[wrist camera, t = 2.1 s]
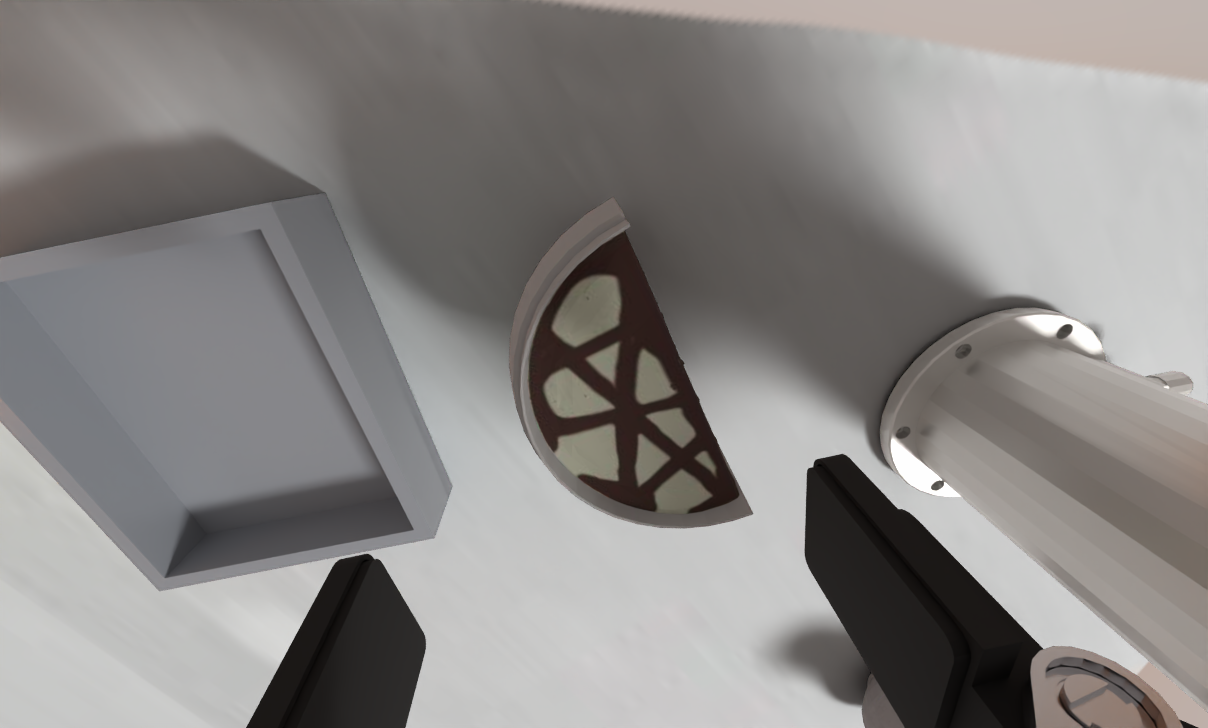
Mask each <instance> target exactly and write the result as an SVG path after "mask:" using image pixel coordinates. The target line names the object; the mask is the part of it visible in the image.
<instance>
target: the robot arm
mask: <svg viewBox="0 0 1208 728" xmlns="http://www.w3.org/2000/svg"><path fill="white" fill-rule="evenodd" d="M1192 390H1193V382H1192V381H1191V379H1190V377H1189V376H1187V375H1185V374H1183V373H1182V372H1176V371H1171V372H1166V373H1160V374H1155V375H1150V376H1147V377H1144V376H1142V375H1139V374H1136V373H1134V372H1131V371H1129V370H1126V369H1123V368H1121V367H1118V366H1116V365H1113V364H1111V363H1108V362H1106V360H1105V353H1104V350H1103V347H1102V344H1101V341H1100V340H1099V338H1098V337H1097V336H1096V335H1095V333H1094V332H1093V331H1092V329H1091V328H1089V327H1088V326H1087V325H1085V324H1084V323H1082V322H1081V321H1079V320H1078V319H1075V318H1072V317H1070V316H1067V315H1064V314H1061V313H1058V312H1055V311H1051V310H1046V309H1041V308H1013V309H1008V310H1003V311H998V312H993V313H991V314H988V315H985V316H982V317H980V318H977V319H974V320H972V321H970V322H968V323H966V324H964V325H962V326H960V327H958V328H957V329H955V330H953V331H951V332H949V333H948V334H947V335H945V336H944V337H942V338H941V339H940V340H938V341H937V342H935V343H934V344H933V345H931V346H930V347H929V348H928V349H927V350H926V351H925V352H924V353H922V354H921V355H920V356H919V357H918V358H917V359H916V360H915V361H914V362H913V363H912V364H911V366H910V367H909V368H908V369H907V371H906V372H905V373H904V374H903V375H902V377H901V378H900V379H899V381H898V383H897V384H896V386H895V388H894V389H893V391H892V393H891V395H890V396H889V399H888V401H887V404H886V406H885V409H884V412H883V414H882V420H881V426H880V442H881V448H882V451H883V454H884V457H885V459H886V461H887V462H888V464H889V465H890V466H891V468H892V469H893V470H894V471H895V472H896V473H897V474H898V475H899V476H900V477H901V478H902V479H903V480H904V481H905V482H906V483H907V484H909V485H911V486H912V487H914V488H916V489H917V490H919V491H922V492H925V493H928V494H931V495H938V496H947V497H953V496H961V497H962V498H963V499H964V500H966V501H967V502H968V503H969V504H970V505H971V506H972V507H973V508H975V509H976V510H977V511H978V512H979V513H980V514H981V515H983V516H984V517H985V518H986V519H987V520H988V521H989V522H991V523H992V524H993V525H994V526H995V527H996V528H997V529H999V530H1000V531H1001V532H1002V533H1003V534H1004V535H1005V536H1007V537H1008V538H1009V539H1010V540H1011V541H1012V542H1013V543H1015V544H1016V545H1017V546H1018V547H1019V548H1020V549H1021V550H1023V551H1024V552H1025V553H1026V554H1027V555H1028V556H1029V557H1031V558H1032V559H1033V560H1034V561H1035V562H1036V563H1037V564H1039V565H1040V566H1041V567H1042V568H1043V569H1044V570H1045V571H1047V572H1048V573H1049V574H1050V575H1051V576H1052V577H1053V578H1055V579H1056V580H1057V581H1058V582H1059V583H1060V584H1061V585H1063V586H1064V587H1065V588H1066V589H1067V590H1068V591H1069V592H1071V593H1072V594H1073V595H1074V596H1075V597H1076V598H1077V599H1079V600H1080V601H1081V602H1082V603H1083V604H1084V605H1085V606H1086V607H1088V608H1089V609H1090V610H1091V611H1092V612H1093V613H1094V614H1096V615H1097V616H1098V617H1099V618H1100V619H1101V620H1102V621H1104V622H1105V623H1106V624H1107V625H1108V626H1109V627H1110V628H1112V629H1113V630H1114V631H1115V632H1116V633H1117V634H1118V635H1120V636H1121V637H1122V638H1123V639H1124V640H1125V641H1126V642H1128V643H1129V644H1130V645H1131V646H1132V647H1133V648H1134V649H1136V650H1137V651H1138V652H1139V653H1140V654H1141V655H1142V656H1144V657H1145V658H1146V659H1147V660H1148V661H1149V662H1150V663H1152V664H1153V665H1154V666H1155V667H1156V668H1157V669H1158V670H1160V671H1161V672H1162V673H1163V674H1164V675H1165V676H1166V677H1168V678H1169V679H1170V680H1171V681H1172V682H1173V683H1175V684H1176V685H1177V686H1178V687H1179V688H1180V689H1181V690H1182V691H1184V692H1185V693H1186V694H1187V695H1188V696H1189V697H1190V698H1192V699H1193V700H1194V701H1195V702H1196V703H1197V704H1198V705H1199V706H1201V707H1202V708H1203V709H1204V710H1205V711H1206V712H1208V404H1205V403H1203V402H1200V401H1198V400H1195V399H1193V398H1190V397H1188V396H1185V395H1188V394H1189V393H1190V392H1191V391H1192ZM805 558H806V562H807V565H808V567H809V569H810V571H811V573H812V574H813V576H814V578H815V579H816V581H817V583H818V584H819V586H820V588H821V589H822V591H823V593H824V594H825V596H826V598H827V599H828V601H829V603H830V604H831V606H832V608H833V609H834V611H835V613H836V614H837V616H838V618H839V619H840V621H841V623H842V624H843V626H844V628H845V629H846V631H847V633H848V634H849V636H850V638H851V639H852V641H853V643H854V644H855V646H856V648H857V649H858V651H859V653H860V654H861V656H862V657H863V659H864V661H865V662H866V664H867V666H868V667H869V669H870V671H871V672H872V674H873V676H874V677H875V679H876V681H877V682H878V684H879V686H880V687H881V689H882V691H883V692H884V694H885V696H886V697H887V699H888V701H889V702H890V704H891V706H892V707H893V709H894V711H895V712H896V714H897V716H898V717H899V719H900V721H901V722H902V724H903V726H904V727H905V728H1198V727H1195V726H1193V725H1191V724H1188V723H1186V722H1184V721H1181V720H1179V719H1178V717H1177V715H1176V713H1175V712H1174V711H1173V709H1172V708H1171V707H1170V706H1169V705H1168V704H1167V702H1166V701H1165V700H1164V699H1163V698H1162V697H1161V696H1160V695H1159V693H1158V692H1156V691H1155V690H1154V689H1153V688H1152V687H1150V686H1149V685H1148V684H1147V683H1146V682H1144V681H1143V680H1142V679H1141V678H1140V677H1138V676H1137V675H1135V674H1134V673H1132V672H1131V671H1129V670H1127V669H1126V668H1124V667H1122V666H1121V665H1119V664H1118V663H1116V662H1114V661H1112V660H1109V659H1107V658H1105V657H1103V656H1100V655H1098V654H1096V653H1093V652H1090V651H1086V650H1082V649H1078V648H1074V647H1065V646H1052V647H1049V648H1046V649H1043V648H1042V647H1041V646H1040V645H1039V644H1038V643H1037V642H1036V641H1035V640H1034V639H1033V638H1032V637H1031V636H1030V635H1029V634H1028V633H1027V632H1026V631H1025V630H1024V629H1023V628H1022V627H1021V626H1020V625H1019V624H1018V623H1017V622H1016V621H1015V620H1014V618H1013V617H1012V616H1011V615H1010V614H1009V613H1008V612H1007V611H1006V610H1005V609H1004V608H1003V607H1002V606H1001V605H1000V604H999V603H998V602H997V601H996V600H995V599H994V598H993V597H992V596H991V595H990V594H989V593H988V592H987V591H986V590H985V589H984V588H983V587H982V586H981V585H980V584H979V583H978V582H977V581H976V579H975V578H974V577H973V576H972V575H971V574H970V573H969V572H968V571H967V570H966V569H965V568H964V567H963V566H962V565H961V564H960V563H959V562H958V561H957V560H956V559H955V558H954V557H953V556H952V555H951V554H950V553H949V552H948V551H947V550H946V549H945V548H944V547H943V546H942V545H941V544H940V543H939V542H938V540H937V539H936V538H935V537H934V536H933V535H932V534H931V533H930V532H929V531H928V530H927V529H926V528H925V527H924V526H923V525H922V524H921V523H920V522H919V521H918V520H917V519H916V518H915V517H914V516H913V515H911V514H910V513H909V512H907V511H905V510H903V509H897V508H896V507H895V506H894V505H893V504H892V502H891V501H890V500H889V499H888V498H887V497H886V496H885V495H884V494H883V493H882V492H881V491H880V490H879V489H878V488H877V487H876V486H875V485H874V483H873V482H872V481H871V480H870V479H869V478H868V477H867V476H866V475H865V474H864V473H863V472H862V471H861V470H860V469H859V468H858V467H857V466H856V465H855V463H854V462H853V461H852V460H851V459H850V458H849V457H847V456H846V455H844V454H840V455H835V456H831V457H826V458H821V459H817V460H815V462H814V466H813V467H812V468H809V469H808V470H807V492H806V525H805ZM425 649H426V639H425V635H424V633H423V631H422V629H421V628H420V626H419V624H418V623H417V621H416V619H415V618H414V616H413V614H412V612H411V611H410V609H409V607H408V606H407V604H406V602H405V601H404V599H403V597H402V596H401V594H400V592H399V591H398V589H397V587H396V585H395V584H394V582H393V580H392V579H391V577H390V575H389V574H388V572H387V570H386V569H385V567H384V565H383V564H382V562H381V561H380V560H379V559H374V558H373V557H372V556H371V555H369V554H364V555H359V556H354V557H350V558H345V559H340V560H338V561H337V562H336V563H335V564H334V566H333V567H332V569H331V571H330V573H329V575H328V577H327V578H326V580H325V582H324V584H323V586H322V588H321V590H320V591H319V593H318V595H317V597H316V599H315V601H314V603H313V604H312V606H311V608H310V610H309V612H308V614H307V616H306V617H305V619H304V621H303V623H302V625H301V627H300V629H299V631H298V632H297V634H296V636H295V638H294V640H293V642H292V644H291V645H290V647H289V649H288V651H287V653H286V655H285V657H284V658H283V660H282V662H281V664H280V666H279V668H278V670H277V671H276V673H275V675H274V677H273V679H272V681H271V683H270V684H269V686H268V688H267V690H266V692H265V694H264V696H263V698H262V699H261V701H260V703H259V705H258V707H257V709H256V711H255V712H254V714H253V716H252V718H251V720H250V722H249V724H248V725H247V727H246V728H405V727H406V723H407V719H408V715H409V711H410V708H411V704H412V700H413V696H414V692H415V689H416V685H417V681H418V677H419V673H420V670H421V666H422V662H423V658H424V654H425Z"/></svg>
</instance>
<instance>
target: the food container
mask: <svg viewBox="0 0 1208 728" xmlns="http://www.w3.org/2000/svg"><path fill="white" fill-rule="evenodd" d="M629 227H630V224H629V223H628V221H627V220H626V218H625V216H624V214H623V211H622V210H621V208H620V206H619V205H618V203H617V202H616V200H615V198H614V197H612V198H611V199H609V200H607V201H606V202H604V203H603V204H601V205H599V206H598V207H596V208H595V209H593V210H591V211H590V212H588V213H587V214H585V215H584V216H583V217H582V218H581V219H580V220H578V221H577V222H576V223H575V224H574V225H573V226H572V227H570V228H569V229H568V230H567V231H566V232H565V233H563V234H562V235H561V236H560V238H559V239H558V240H557V241H556V242H555V243H554V245H553V246H552V247H551V248H550V249H549V251H548V252H547V253H546V254H545V255H544V257H543V258H542V259H541V260H540V262H539V264H538V266H537V267H536V269H535V271H534V272H533V274H532V276H531V277H530V279H529V281H528V282H527V284H526V286H525V288H524V291H523V294H522V296H521V299H520V301H519V304H518V306H517V309H516V312H515V316H514V321H513V326H512V331H511V336H510V347H509V369H510V376H511V382H512V389H513V394H514V399H515V403H516V408H517V412H518V414H519V417H520V420H521V423H522V426H523V429H524V432H525V434H526V436H527V438H528V440H529V441H530V443H531V445H532V447H533V449H534V450H535V452H536V454H537V455H538V456H539V458H540V459H541V460H542V462H543V463H544V465H545V466H546V467H547V468H548V469H549V471H550V472H551V473H552V474H553V476H554V477H555V478H556V479H557V481H558V482H560V483H561V484H562V485H563V486H564V487H565V488H566V489H568V490H569V491H570V492H571V493H572V494H573V495H574V496H576V497H577V498H579V499H580V500H582V501H583V502H585V503H587V504H588V505H590V506H591V507H593V508H595V509H597V510H599V511H601V512H604V513H606V514H608V515H610V516H612V517H615V518H618V519H621V520H625V521H628V522H632V523H635V524H640V525H646V526H653V527H659V528H693V527H704V526H711V525H716V524H721V523H725V522H730V521H734V520H737V519H740V518H743V517H746V516H749V515H752V514H753V512H752V510H751V508H750V506H749V504H748V502H747V500H746V498H745V496H744V494H743V492H742V490H741V488H740V486H739V484H738V482H737V480H736V478H735V476H734V474H733V472H732V470H731V468H730V467H729V465H728V463H727V461H726V459H725V457H724V455H723V453H722V451H721V449H720V447H719V444H718V443H717V439H716V437H715V436H714V434H713V432H712V430H711V428H710V425H709V423H708V421H707V419H706V417H705V414H704V412H703V410H702V407H701V405H700V403H699V398H698V396H697V395H696V393H695V391H694V389H693V386H692V384H691V382H690V380H689V377H688V375H687V373H686V371H685V368H684V366H683V365H684V362H683V361H682V360H681V359H680V357H679V355H678V352H677V350H676V347H675V344H674V343H673V340H672V338H671V336H670V333H669V331H668V328H667V326H666V324H665V321H664V317H663V314H662V313H661V312H660V309H659V307H658V305H657V302H656V300H655V298H654V296H653V293H652V291H651V289H650V286H649V284H648V282H647V279H646V277H645V275H644V272H643V270H642V268H641V266H640V264H639V261H638V259H637V257H636V255H635V253H634V250H633V248H632V246H631V244H630V242H629V239H628V237H627V235H626V233H625V231H624V230H626V229H628V228H629Z"/></svg>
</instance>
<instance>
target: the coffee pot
mask: <svg viewBox="0 0 1208 728" xmlns="http://www.w3.org/2000/svg"><path fill="white" fill-rule="evenodd" d="M862 716H863V722H864V725H865V728H905V727H904V726H903V724H902V722H901V721H900V719H899V717H898V716H897V714H896V712H895V711H894V709H893V707H892V706H891V704H890V702H889V701H888V699H887V697H886V696H885V694H884V692H883V691H882V689H881V687H880V686H879V684H878V682H877V681H876V679H875V677H874V676H873V674H872V672H871V674H870V676H869V678H868V681H867V689H866V691H865V695H864V700H863V705H862Z"/></svg>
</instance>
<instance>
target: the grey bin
mask: <svg viewBox="0 0 1208 728" xmlns="http://www.w3.org/2000/svg"><path fill="white" fill-rule="evenodd" d="M0 422H1V423H2V424H3V425H4V426H5V427H6V428H7V429H8V430H9V431H10V432H11V433H12V434H13V436H14V437H15V438H16V439H17V440H18V441H19V442H20V443H21V444H22V445H23V446H24V447H25V448H26V449H27V450H28V452H29V453H30V454H31V455H32V456H33V457H34V458H35V459H36V460H37V461H38V462H39V463H40V464H41V465H42V466H43V468H44V469H45V470H46V471H47V472H48V473H49V474H50V475H51V476H52V477H53V478H54V479H55V480H56V481H57V483H58V484H59V485H60V486H61V487H62V488H63V489H64V490H65V491H66V492H67V493H68V494H69V495H70V496H71V497H72V499H73V500H74V501H75V502H76V503H77V504H78V505H79V506H80V507H81V508H82V509H83V510H84V511H85V512H86V513H87V515H88V516H89V517H90V518H91V519H92V520H93V521H94V522H95V523H96V524H97V525H98V526H99V527H100V528H101V529H102V531H103V532H104V533H105V534H106V535H107V536H108V537H109V538H110V539H111V540H112V541H113V542H114V543H115V544H116V546H117V547H118V548H119V549H120V550H121V551H122V552H123V553H124V554H125V555H126V556H127V557H128V558H129V559H130V560H131V562H132V563H133V564H134V565H135V566H136V567H137V568H138V569H139V570H140V571H141V572H142V573H143V574H144V575H145V576H146V578H147V579H148V580H149V581H150V582H151V583H152V584H153V585H154V586H155V587H156V588H157V589H158V590H159V591H163V590H168V589H173V588H179V587H184V586H189V585H194V584H199V583H205V582H210V581H215V580H220V579H225V578H230V577H236V576H241V575H246V574H251V573H256V572H262V571H267V570H272V569H277V568H282V567H287V566H293V565H298V564H303V563H308V562H313V561H319V560H324V559H329V558H334V557H339V556H344V555H350V554H355V553H360V552H365V551H370V550H376V549H381V548H386V547H391V546H396V545H401V544H407V543H412V542H417V541H422V540H427V539H432V538H435V535H436V532H437V530H438V527H439V524H440V521H441V518H442V515H443V512H444V510H445V507H446V504H447V501H448V498H449V495H450V492H451V489H452V484H451V482H450V480H449V477H448V475H447V473H446V470H445V468H444V466H443V463H442V461H441V459H440V457H439V454H438V452H437V450H436V447H435V445H434V443H433V440H432V438H431V436H430V433H429V431H428V429H427V426H426V424H425V422H424V420H423V417H422V415H421V413H420V410H419V408H418V406H417V403H416V401H415V399H414V396H413V394H412V392H411V390H410V387H409V385H408V383H407V380H406V378H405V376H404V373H403V371H402V369H401V366H400V364H399V362H398V359H397V357H396V355H395V353H394V350H393V348H392V346H391V343H390V341H389V339H388V336H387V334H386V332H385V329H384V327H383V325H382V322H381V320H380V318H379V316H378V313H377V311H376V309H375V306H374V304H373V302H372V299H371V297H370V295H369V292H368V290H367V288H366V286H365V283H364V281H363V279H362V276H361V274H360V272H359V269H358V267H357V265H356V262H355V260H354V258H353V255H352V253H351V251H350V249H349V246H348V244H347V242H346V239H345V237H344V235H343V232H342V230H341V228H340V225H339V223H338V221H337V219H336V216H335V214H334V212H333V209H332V207H331V205H330V202H329V200H328V198H327V195H326V193H322V194H316V195H310V196H304V197H298V198H292V199H285V200H279V201H273V202H268V203H263V204H258V205H253V206H248V207H243V208H239V209H234V210H229V211H224V212H219V213H214V214H209V215H205V216H200V217H195V218H190V219H185V220H180V221H175V222H171V223H166V224H161V225H156V226H151V227H146V228H141V229H136V230H132V231H127V232H122V233H117V234H112V235H107V236H102V237H98V238H93V239H88V240H83V241H78V242H73V243H68V244H64V245H59V246H54V247H49V248H44V249H39V250H34V251H29V252H25V253H20V254H15V255H10V256H5V257H0Z"/></svg>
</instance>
